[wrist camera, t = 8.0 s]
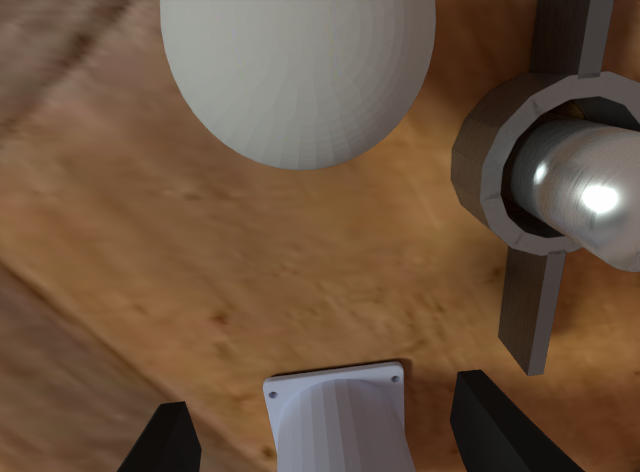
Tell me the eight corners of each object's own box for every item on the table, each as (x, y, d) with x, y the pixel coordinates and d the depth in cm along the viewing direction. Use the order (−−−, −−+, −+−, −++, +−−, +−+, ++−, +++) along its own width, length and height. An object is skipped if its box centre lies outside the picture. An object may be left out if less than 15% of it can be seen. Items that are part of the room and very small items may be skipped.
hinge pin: (566, 190, 18) (710, 259, 12) (484, 205, 18) (585, 282, 12) (576, 103, 17) (751, 132, 10) (486, 120, 17) (605, 158, 10)
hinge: (565, 328, 22) (604, 366, 19) (443, 343, 22) (465, 384, 19) (666, -154, 13) (763, -210, 11) (464, -134, 13) (509, -185, 10)
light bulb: (336, -74, 14) (429, -347, 4) (390, 89, 16) (522, 125, 7) (190, 2, 14) (13, -102, 5) (263, 148, 17) (230, 252, 8)
